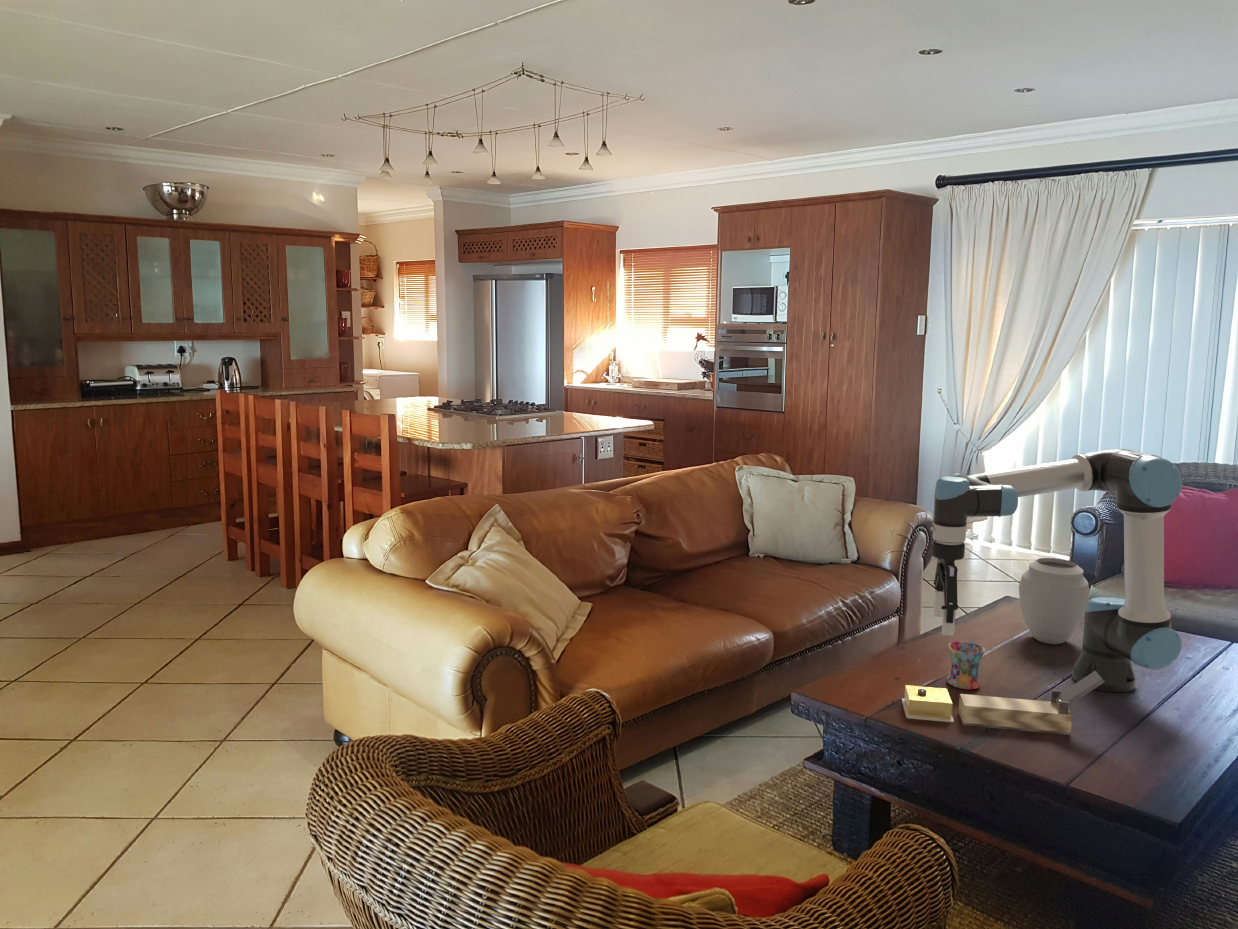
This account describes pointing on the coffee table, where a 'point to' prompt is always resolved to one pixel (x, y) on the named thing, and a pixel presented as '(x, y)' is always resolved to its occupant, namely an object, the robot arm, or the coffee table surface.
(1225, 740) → the coffee table surface
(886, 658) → the coffee table surface
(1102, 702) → the coffee table surface
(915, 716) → the felt pad
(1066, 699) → the lever
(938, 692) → the yellow block with knob
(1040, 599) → the vase
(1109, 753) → the coffee table surface
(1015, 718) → the body
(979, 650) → the mug
